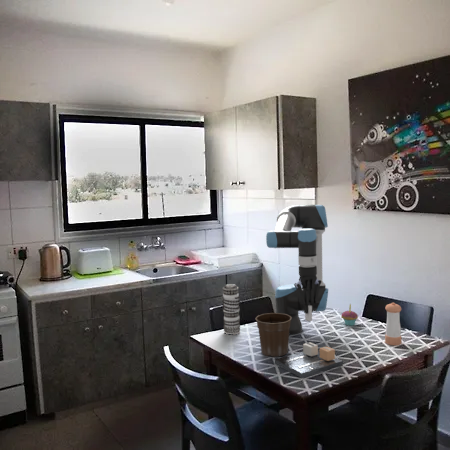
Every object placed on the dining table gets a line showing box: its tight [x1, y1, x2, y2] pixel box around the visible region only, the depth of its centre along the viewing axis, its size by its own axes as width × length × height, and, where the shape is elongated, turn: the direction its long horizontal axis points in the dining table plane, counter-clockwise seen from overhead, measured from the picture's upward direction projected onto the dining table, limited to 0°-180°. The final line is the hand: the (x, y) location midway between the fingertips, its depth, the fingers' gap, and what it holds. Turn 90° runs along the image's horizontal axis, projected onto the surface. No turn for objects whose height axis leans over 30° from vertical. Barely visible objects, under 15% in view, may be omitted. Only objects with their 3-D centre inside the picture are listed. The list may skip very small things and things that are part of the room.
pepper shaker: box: [384, 302, 403, 346], centre depth 226 cm, size 7×7×19 cm
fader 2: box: [319, 346, 336, 361], centre depth 205 cm, size 5×4×4 cm
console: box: [274, 349, 344, 379], centre depth 205 cm, size 18×22×2 cm
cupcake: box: [340, 303, 359, 327], centre depth 256 cm, size 9×8×12 cm
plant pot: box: [255, 312, 292, 358], centre depth 220 cm, size 16×16×16 cm
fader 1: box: [302, 342, 319, 356], centre depth 210 cm, size 5×4×4 cm
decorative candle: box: [221, 283, 241, 335], centre depth 249 cm, size 9×9×25 cm
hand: (308, 320), depth 206 cm, fingers closed
